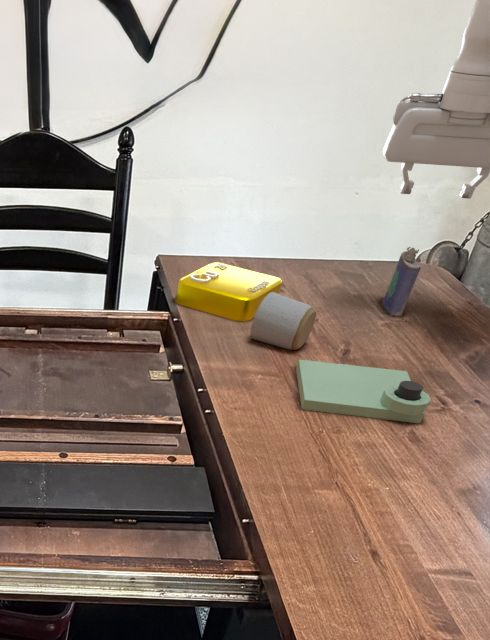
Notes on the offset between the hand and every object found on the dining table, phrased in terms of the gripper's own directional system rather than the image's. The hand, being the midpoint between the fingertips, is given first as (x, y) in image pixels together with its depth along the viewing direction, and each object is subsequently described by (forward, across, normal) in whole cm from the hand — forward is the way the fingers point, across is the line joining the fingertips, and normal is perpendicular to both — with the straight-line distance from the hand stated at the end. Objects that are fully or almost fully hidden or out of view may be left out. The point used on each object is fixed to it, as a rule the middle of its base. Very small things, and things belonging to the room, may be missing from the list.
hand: (434, 195), depth 119 cm
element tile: (+19, -30, -5) cm, 36 cm away
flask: (+19, 0, 0) cm, 19 cm away
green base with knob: (+19, -11, -39) cm, 45 cm away
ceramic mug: (+19, -21, -21) cm, 35 cm away
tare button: (+16, -5, -44) cm, 47 cm away
